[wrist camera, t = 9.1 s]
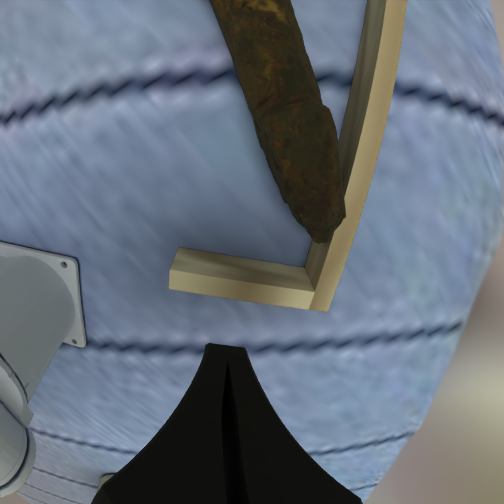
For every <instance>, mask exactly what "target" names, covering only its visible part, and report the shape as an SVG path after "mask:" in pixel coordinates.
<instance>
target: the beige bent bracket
mask: <svg viewBox="0 0 504 504" xmlns="http://www.w3.org/2000/svg"><path fill="white" fill-rule="evenodd" d="M406 4H407V0H368V1H367V7H366V13H365V19H364V25H363V30H362V36H361V41H360V47H359V52H358V57H357V62H356V67H355V72H354V77H353V82H352V86H351V91H350V96H349V100H348V105H347V109H346V113H345V118H344V122H343V126H342V130H341V135H340V139H339V143H338V148H339V161H340V169H341V174H342V177H343V189H344V199H345V209H346V218H344V219H343V221H342V223H341V225H340V226H339V227H338V228H337V229H336V230H335V231H334V233H333V234H332V235H331V237H330V238H329V240H328V241H327V242H325V243H320V244H318V243H315V242H314V240H312V243H311V247H310V250H309V253H308V257H307V260H306V263H305V267H304V268H303V267H296V266H290V265H284V264H278V263H272V262H266V261H259V260H253V259H247V258H241V257H235V256H229V255H223V254H217V253H211V252H205V251H199V250H193V249H187V248H181V247H179V248H178V251H177V253H176V256H175V258H174V261H173V263H172V266H171V268H170V275H169V287H168V289H173V290H178V291H184V292H190V293H196V294H202V295H209V296H215V297H221V298H228V299H234V300H241V301H248V302H255V303H262V304H269V305H277V306H284V307H292V308H300V309H308V310H317V311H325V312H328V309H329V306H330V304H331V301H332V299H333V296H334V293H335V291H336V288H337V285H338V282H339V280H340V277H341V274H342V271H343V269H344V266H345V263H346V260H347V257H348V254H349V251H350V248H351V245H352V242H353V239H354V236H355V233H356V230H357V227H358V224H359V221H360V217H361V214H362V211H363V208H364V204H365V201H366V198H367V194H368V191H369V187H370V184H371V180H372V177H373V173H374V169H375V166H376V162H377V158H378V154H379V150H380V146H381V142H382V138H383V134H384V130H385V126H386V121H387V117H388V112H389V108H390V103H391V98H392V94H393V89H394V83H395V78H396V73H397V67H398V61H399V56H400V49H401V43H402V36H403V29H404V21H405V13H406Z"/></svg>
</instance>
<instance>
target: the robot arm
mask: <svg viewBox="0 0 504 504" xmlns="http://www.w3.org/2000/svg"><path fill="white" fill-rule="evenodd" d="M64 262H65V263H66V264H67V266H66V265H65V264H64ZM75 340H76V341H75ZM62 342H64V343H67V344H71V345H74V346H78V347H82V348H83V347H85V345H86V335H85V329H84V321H83V314H82V305H81V296H80V285H79V272H78V263H77V261H76V260H75V259H74V258H72V257H67V256H62V255H57V254H53V253H48V252H43V251H39V250H34V249H30V248H26V247H21V246H17V245H12V244H8V243H4V242H0V497H3V496H6V495H9V494H11V493H13V492H15V491H16V490H17V489H19V488H20V487H21V486H22V485H23V484H24V483H25V482H26V480H27V479H28V477H29V475H30V473H31V471H32V468H33V465H34V461H35V456H36V442H35V438H34V435H33V433H32V431H31V430H30V428H29V427H28V426H29V423H30V421H31V419H32V417H33V413H32V412H31V410H30V409H29V407H28V405H27V404H28V403H29V401H30V399H31V397H32V395H33V393H34V391H35V389H36V387H37V386H38V384H39V382H40V380H41V378H42V377H43V375H44V373H45V371H46V369H47V368H48V366H49V364H50V362H51V361H52V359H53V357H54V356H55V354H56V352H57V351H58V349H59V347H60V346H61V344H62ZM91 504H363V503H362V501H361V498H359V497H358V496H356V495H355V494H354V493H352V492H351V491H349V490H348V489H347V488H345V487H344V486H343V485H341V484H340V483H339V482H337V481H336V480H335V479H334V478H333V477H331V476H330V475H329V474H328V473H327V472H326V471H325V470H323V469H322V468H321V467H320V466H319V465H318V464H317V463H316V462H315V461H314V460H313V459H312V458H311V457H310V456H309V455H308V453H307V452H306V451H305V450H304V449H303V448H302V447H301V446H300V445H299V443H298V442H297V441H296V440H295V439H294V437H293V436H292V435H291V433H290V432H289V431H288V430H287V428H286V427H285V425H284V424H283V423H282V421H281V420H280V418H279V417H278V415H277V413H276V412H275V410H274V409H273V407H272V405H271V404H270V402H269V400H268V398H267V396H266V395H265V393H264V391H263V389H262V387H261V385H260V383H259V381H258V379H257V377H256V374H255V372H254V370H253V367H252V365H251V362H250V360H249V357H248V354H247V351H246V349H245V348H243V347H235V346H227V345H220V344H213V343H208V344H207V345H206V346H205V352H204V355H203V358H202V361H201V364H200V366H199V368H198V371H197V373H196V375H195V377H194V379H193V381H192V383H191V385H190V386H189V388H188V390H187V391H186V393H185V395H184V396H183V398H182V400H181V401H180V403H179V404H178V406H177V407H176V409H175V410H174V412H173V413H172V415H171V416H170V417H169V419H168V420H167V421H166V423H165V424H164V425H163V426H162V428H161V429H160V430H159V431H158V432H157V434H156V435H155V436H154V437H153V438H152V440H151V441H150V442H149V443H148V444H147V445H146V446H145V447H144V448H143V449H142V450H141V451H140V452H139V453H138V454H137V455H136V456H135V457H134V458H133V459H132V460H131V461H130V462H129V463H128V464H127V465H125V466H124V467H123V468H122V469H121V470H120V471H118V472H117V473H116V474H115V475H113V476H112V477H111V478H110V479H108V480H107V481H106V482H105V483H103V484H102V486H101V487H100V489H99V491H98V492H97V494H96V495H95V497H94V499H93V501H92V503H91Z"/></svg>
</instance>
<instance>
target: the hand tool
mask: <svg viewBox="0 0 504 504" xmlns="http://www.w3.org/2000/svg"><path fill="white" fill-rule="evenodd" d="M209 1H210V3H211V5H212V7H213V10H214V13H215V15H216V18H217V20H218V23H219V25H220V28H221V30H222V33H223V36H224V38H225V41H226V44H227V46H228V49H229V51H230V54H231V56H232V60H233V63H234V67H235V70H236V72H237V75H238V78H239V81H240V84H241V87H242V89H243V92H244V95H245V98H246V101H247V104H248V108H249V110H250V112H251V114H252V117H253V121H254V125H255V129H256V133H257V136H258V139H259V143H260V146H261V148H262V149H263V150H264V153H265V156H266V160H267V162H268V166H269V168H270V170H271V172H272V174H273V177H274V179H275V182H276V183H277V185H278V187H279V189H280V193H281V196H282V198H283V200H284V202H285V203H288V205H289V207H290V209H291V211H292V214H293V216H294V217H295V218H296V220H297V222H298V223H300V224H301V225H302V226H303V227H305V228H306V230H307V231H308V233H309V234H310V236H311V237H312V239H313V240H314V242H315V243H318V244H320V243H325V242H327V241H328V240H329V238H330V237H331V235H332V234H333V233H334V231H335V230H336V229H337V228H338V227H339V226H340V225H341V223H342V221H343V219H344V218H346V209H345V199H344V189H343V177H342V174H341V169H340V161H339V148H338V140H337V131H336V127H335V123H334V120H333V117H332V114H331V112H330V109H329V108H328V107H326V106H324V105H323V104H322V100H321V95H320V90H319V87H318V84H317V80H316V78H315V75H314V72H313V69H312V66H311V63H310V60H309V57H308V55H307V53H306V50H305V46H304V41H303V36H302V33H301V31H300V28H299V26H298V23H297V20H296V17H295V14H294V10H293V7H292V4H291V1H290V0H209Z"/></svg>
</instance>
